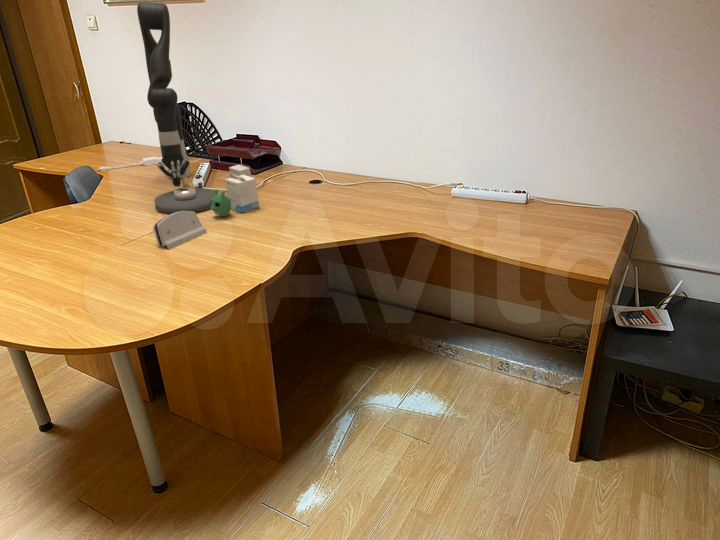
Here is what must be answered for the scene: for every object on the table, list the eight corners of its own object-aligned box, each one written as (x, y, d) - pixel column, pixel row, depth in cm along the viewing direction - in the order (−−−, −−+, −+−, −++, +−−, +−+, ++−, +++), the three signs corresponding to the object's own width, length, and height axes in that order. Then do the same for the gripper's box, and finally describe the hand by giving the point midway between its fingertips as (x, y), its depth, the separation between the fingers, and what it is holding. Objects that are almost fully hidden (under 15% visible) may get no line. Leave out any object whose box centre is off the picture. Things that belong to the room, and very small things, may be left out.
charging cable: (97, 171, 249) (95, 165, 248) (165, 161, 262) (164, 154, 260) (98, 174, 245) (96, 167, 244) (167, 163, 258) (165, 156, 256)
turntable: (211, 190, 213) (208, 173, 210) (226, 207, 194) (223, 188, 191) (151, 199, 203) (147, 181, 200) (160, 217, 184) (156, 198, 181)
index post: (201, 192, 213) (199, 182, 211) (204, 193, 212) (202, 182, 210) (198, 193, 211) (197, 183, 209) (201, 194, 211) (200, 183, 209)
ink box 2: (259, 207, 195) (256, 173, 189) (241, 213, 189) (237, 178, 183) (246, 203, 200) (242, 169, 194) (228, 208, 194) (223, 174, 189)
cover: (194, 193, 202) (193, 185, 201) (198, 199, 195) (196, 191, 194) (173, 196, 199) (172, 188, 197) (176, 202, 192) (175, 194, 191)
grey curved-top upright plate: (168, 250, 159) (155, 220, 157) (160, 251, 162) (147, 222, 159) (208, 232, 172) (197, 204, 169) (199, 234, 175) (188, 207, 172)
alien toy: (207, 217, 186) (203, 190, 181) (225, 211, 191) (222, 186, 187) (218, 221, 182) (214, 194, 177) (236, 215, 187) (233, 189, 182)
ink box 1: (231, 194, 210) (228, 166, 205) (241, 192, 213) (238, 164, 208) (243, 199, 205) (240, 170, 199) (253, 196, 208) (250, 167, 203)
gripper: (181, 139, 203) (188, 181, 210) (149, 143, 195) (157, 187, 202) (190, 141, 198) (196, 184, 205) (157, 146, 190) (165, 191, 197)
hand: (177, 186), depth 204 cm, fingers closed
